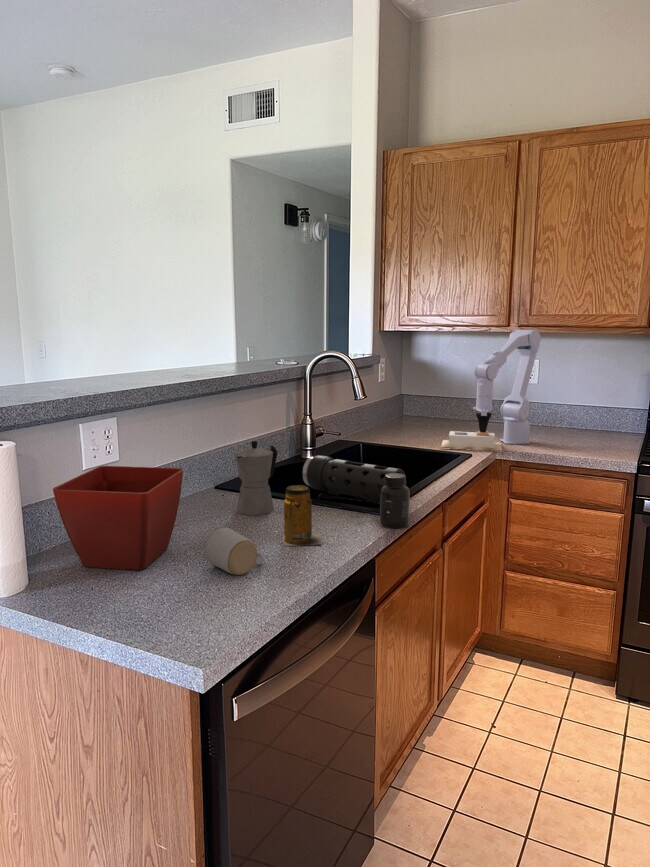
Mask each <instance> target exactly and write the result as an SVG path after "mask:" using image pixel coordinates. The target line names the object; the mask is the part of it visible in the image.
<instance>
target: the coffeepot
mask: <svg viewBox="0 0 650 867" xmlns="http://www.w3.org/2000/svg"><path fill="white" fill-rule="evenodd" d="M258 442H259V441H256V440H252V441H251V442H250V443H251V444H250V445H251V448H246V449H241V450H238V451H237V452H236V453H235V461H236V464H237V470H238V477H239V479H240V480H241V486H240V488H239V494H238V501H237V506H236V507H237V508H236V511H237V512H238V513H239V514H240V515H245V516H251V517H252V516H256V517H257V516H263V515H264V516H265V515H267V514H270V513H272V512H273V510H274V503H273V497H272V493H271V487H270V485H269V479H270V478H272V477H273V476H274V472H275V468H276V463H277V457H278V450H277V448H276V446H274V445H268V446H264V447H262V448H261V447H259V448H258Z"/></svg>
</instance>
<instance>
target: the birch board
mask: <svg viewBox="0 0 650 867" xmlns="http://www.w3.org/2000/svg"><path fill="white" fill-rule="evenodd" d="M441 448H450V449H470V450H482V451H481V452H488V451H491V452H492V453H503V447H502V442H496V441H495V445H494V448H485V447H465V446H449V439H442V442H441V446H440V449H441ZM491 452H490V453H491Z"/></svg>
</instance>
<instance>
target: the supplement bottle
mask: <svg viewBox="0 0 650 867" xmlns="http://www.w3.org/2000/svg"><path fill="white" fill-rule="evenodd" d="M385 484H386V485H384V486H383V487H382V488H381V493H380V503H379V523H380V525H381V526H382V527H384V528H388V529H393V530H398V529H399V530H400V529H404V528H407V527H408V525H409V523H410V522H409V521H410V496H411V493H410V488H409V487H408V486H407V476H406V474H405V475H404V474H399V473H390V474H386V475H385ZM405 484H406V486H405Z"/></svg>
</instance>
